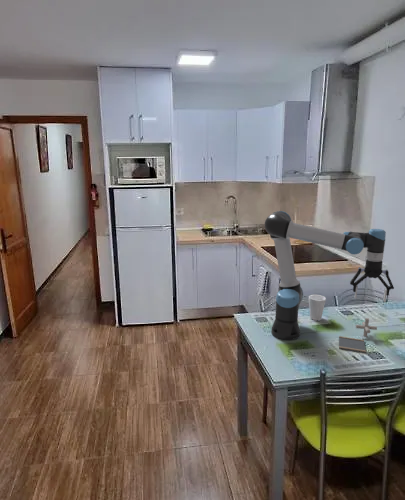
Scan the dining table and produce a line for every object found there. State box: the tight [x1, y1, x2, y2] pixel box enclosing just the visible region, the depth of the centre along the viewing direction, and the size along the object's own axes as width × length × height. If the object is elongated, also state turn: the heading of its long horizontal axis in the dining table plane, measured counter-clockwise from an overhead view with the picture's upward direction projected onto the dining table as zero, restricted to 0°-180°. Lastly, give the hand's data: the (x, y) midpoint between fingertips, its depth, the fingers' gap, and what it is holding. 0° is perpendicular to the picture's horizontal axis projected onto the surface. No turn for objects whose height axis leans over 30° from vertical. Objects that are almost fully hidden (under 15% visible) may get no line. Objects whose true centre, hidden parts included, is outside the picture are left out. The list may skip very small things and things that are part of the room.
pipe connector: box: [355, 317, 378, 338], centre depth 186 cm, size 10×10×10 cm
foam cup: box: [308, 294, 327, 321], centre depth 208 cm, size 10×9×13 cm
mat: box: [338, 335, 366, 354], centre depth 178 cm, size 12×12×1 cm
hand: (369, 299), depth 182 cm, fingers open, 13 cm apart
